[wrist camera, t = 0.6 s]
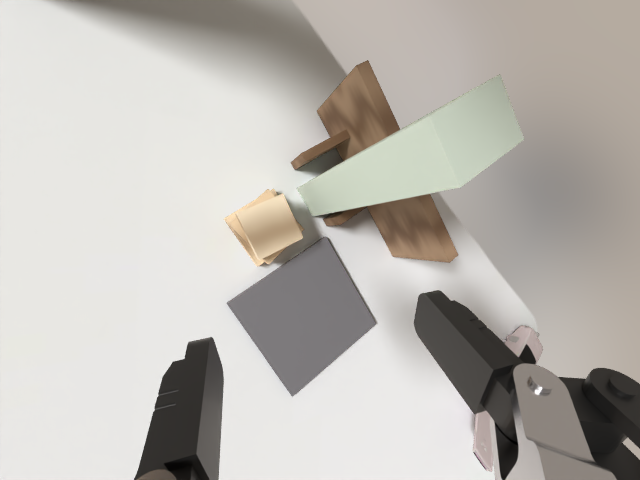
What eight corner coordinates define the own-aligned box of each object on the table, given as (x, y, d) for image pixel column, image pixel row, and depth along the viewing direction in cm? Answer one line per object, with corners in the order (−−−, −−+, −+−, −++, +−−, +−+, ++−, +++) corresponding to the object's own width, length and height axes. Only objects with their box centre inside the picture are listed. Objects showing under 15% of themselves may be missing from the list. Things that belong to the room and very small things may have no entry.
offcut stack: (221, 217, 31) (224, 214, 27) (270, 188, 33) (279, 181, 29) (256, 267, 33) (263, 271, 28) (300, 236, 35) (313, 236, 30)
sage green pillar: (296, 188, 34) (429, 115, 14) (334, 166, 36) (500, 73, 16) (312, 216, 35) (460, 187, 15) (348, 193, 37) (524, 139, 16)
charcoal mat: (226, 302, 31) (227, 304, 31) (324, 236, 36) (326, 236, 35) (290, 394, 34) (292, 396, 33) (373, 322, 38) (376, 323, 38)
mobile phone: (472, 450, 38) (561, 323, 45) (439, 423, 44) (522, 313, 51) (490, 476, 40) (573, 348, 47) (455, 446, 45) (534, 336, 52)
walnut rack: (273, 132, 33) (299, 91, 24) (326, 106, 35) (368, 60, 26) (358, 283, 37) (408, 298, 28) (400, 250, 40) (458, 255, 31)
